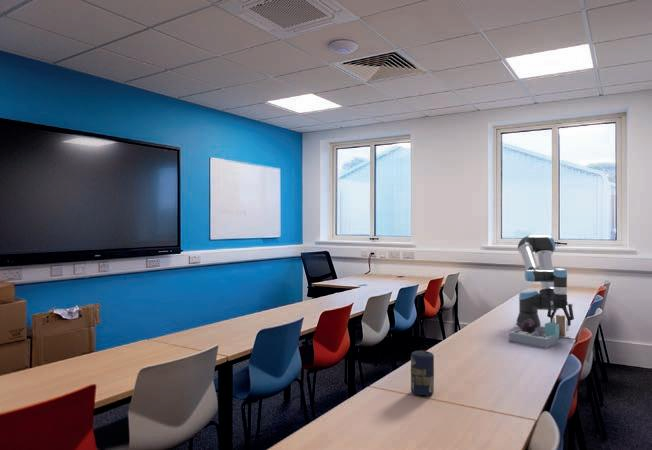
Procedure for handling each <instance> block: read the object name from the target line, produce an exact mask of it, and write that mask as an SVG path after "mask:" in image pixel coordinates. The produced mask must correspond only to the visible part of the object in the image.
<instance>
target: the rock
mask: <svg viewBox="0 0 652 450" xmlns="http://www.w3.org/2000/svg"><path fill="white" fill-rule="evenodd" d="M536 326H537V324H536V322H535V321H534V320H533V319H527V320H525V321H523V322H522V323H521V325H519V329H522V332H528V334H531V333H533V332H535V330H536V329H537V327H536Z"/></svg>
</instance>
